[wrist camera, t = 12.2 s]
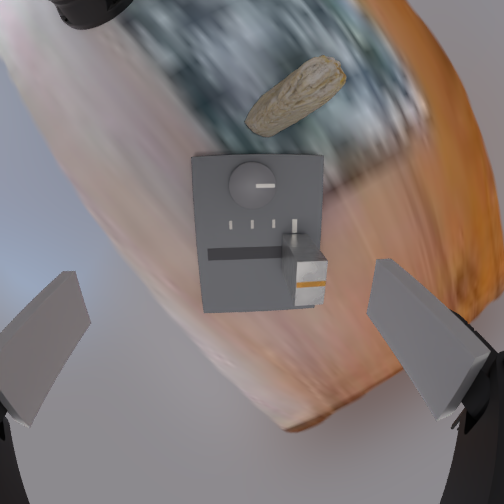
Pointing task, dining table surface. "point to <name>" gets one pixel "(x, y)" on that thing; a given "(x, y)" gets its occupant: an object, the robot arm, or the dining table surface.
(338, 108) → the dining table surface
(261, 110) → the fossil tooth
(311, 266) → the fader
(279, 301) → the console
